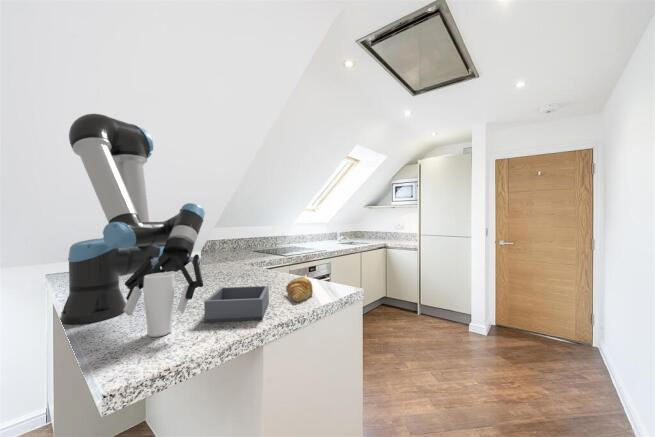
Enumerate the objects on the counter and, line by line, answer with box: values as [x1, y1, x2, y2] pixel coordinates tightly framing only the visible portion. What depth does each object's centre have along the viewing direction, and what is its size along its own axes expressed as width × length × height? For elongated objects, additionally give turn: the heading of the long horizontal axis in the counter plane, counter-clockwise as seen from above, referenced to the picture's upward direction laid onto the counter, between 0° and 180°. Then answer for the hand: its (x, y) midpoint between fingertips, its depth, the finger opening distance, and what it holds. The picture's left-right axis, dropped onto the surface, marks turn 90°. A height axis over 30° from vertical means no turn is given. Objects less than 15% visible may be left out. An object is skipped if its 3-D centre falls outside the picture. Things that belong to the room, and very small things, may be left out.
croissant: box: [285, 276, 313, 302], centre depth 104 cm, size 21×10×8 cm, turn 179°
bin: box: [203, 285, 270, 324], centre depth 85 cm, size 16×16×6 cm
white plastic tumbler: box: [142, 272, 175, 338], centre depth 70 cm, size 7×7×15 cm
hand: (154, 311), depth 67 cm, fingers open, 12 cm apart
